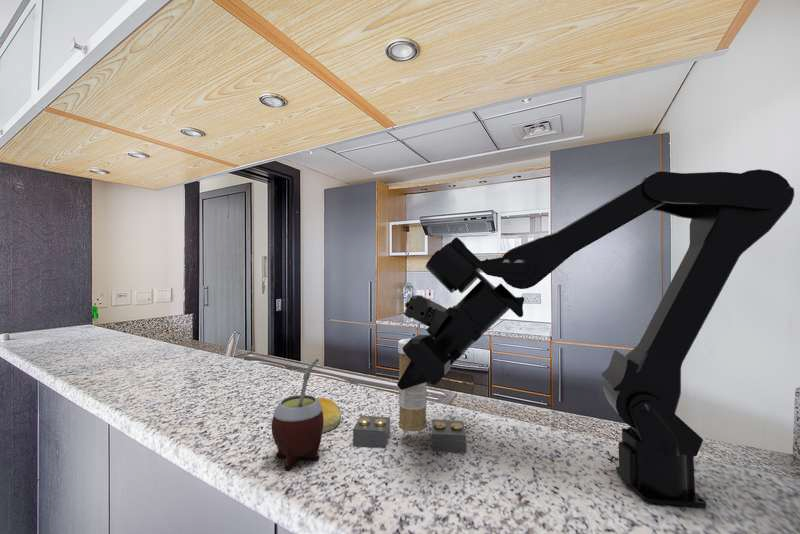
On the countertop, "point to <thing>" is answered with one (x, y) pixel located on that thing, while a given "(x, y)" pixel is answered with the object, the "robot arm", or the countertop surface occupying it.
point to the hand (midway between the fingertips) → (404, 382)
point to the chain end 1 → (371, 431)
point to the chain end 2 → (448, 436)
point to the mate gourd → (298, 426)
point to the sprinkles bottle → (411, 398)
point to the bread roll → (329, 414)
